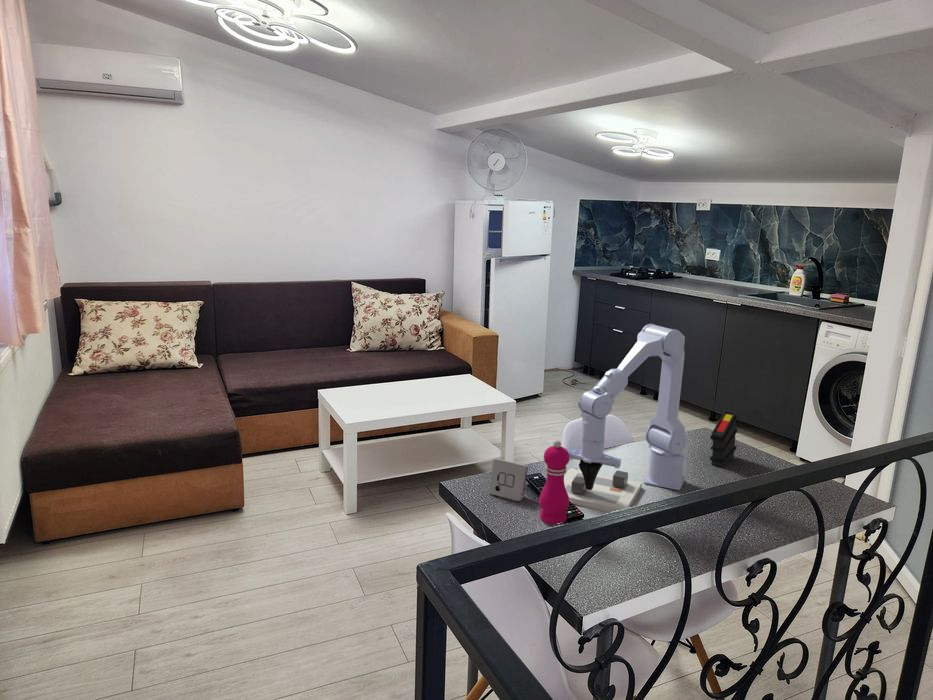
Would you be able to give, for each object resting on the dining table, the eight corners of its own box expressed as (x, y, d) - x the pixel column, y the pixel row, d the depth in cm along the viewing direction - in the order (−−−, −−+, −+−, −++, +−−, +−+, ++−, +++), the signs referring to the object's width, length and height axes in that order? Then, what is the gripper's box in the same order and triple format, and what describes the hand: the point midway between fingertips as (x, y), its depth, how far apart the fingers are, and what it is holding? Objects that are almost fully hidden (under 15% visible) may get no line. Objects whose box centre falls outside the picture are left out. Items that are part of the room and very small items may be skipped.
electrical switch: (487, 494, 171) (490, 460, 170) (496, 488, 176) (499, 455, 174) (520, 503, 167) (523, 467, 165) (528, 497, 171) (531, 462, 170)
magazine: (739, 449, 201) (737, 412, 193) (723, 478, 193) (720, 441, 186) (726, 446, 203) (724, 409, 196) (710, 475, 196) (707, 437, 188)
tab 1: (587, 488, 171) (587, 478, 171) (582, 494, 168) (583, 484, 167) (575, 486, 173) (576, 476, 172) (571, 491, 169) (571, 481, 168)
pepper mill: (532, 514, 161) (536, 437, 156) (558, 509, 163) (562, 433, 159) (547, 528, 154) (551, 447, 150) (574, 522, 157) (578, 443, 152)
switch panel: (641, 488, 177) (641, 482, 176) (625, 515, 161) (625, 509, 161) (569, 473, 185) (570, 467, 185) (547, 497, 170) (548, 491, 169)
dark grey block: (627, 482, 175) (628, 472, 175) (623, 487, 172) (624, 478, 171) (616, 480, 177) (616, 470, 176) (612, 485, 173) (613, 475, 173)
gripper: (560, 438, 165) (557, 488, 168) (617, 448, 159) (613, 500, 162) (568, 429, 172) (566, 478, 175) (624, 439, 165) (620, 489, 168)
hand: (589, 488), depth 169 cm, fingers closed
